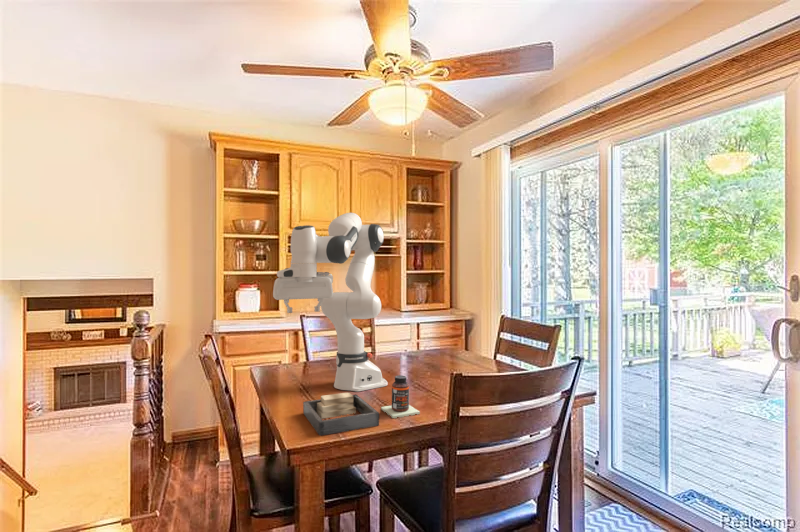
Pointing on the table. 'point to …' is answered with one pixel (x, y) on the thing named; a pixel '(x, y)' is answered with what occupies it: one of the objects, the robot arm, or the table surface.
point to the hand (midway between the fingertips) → (303, 312)
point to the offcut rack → (330, 426)
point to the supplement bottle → (400, 394)
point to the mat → (399, 414)
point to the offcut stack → (335, 405)
